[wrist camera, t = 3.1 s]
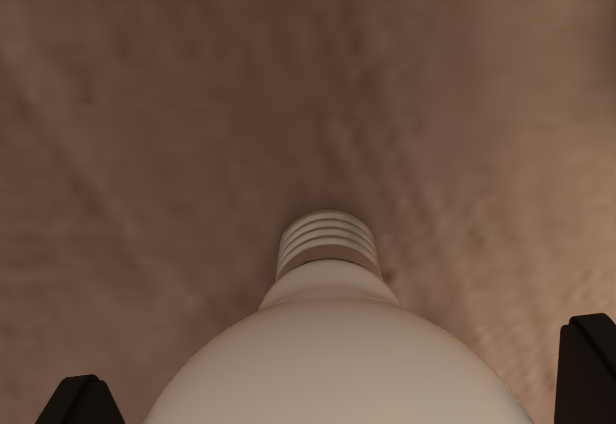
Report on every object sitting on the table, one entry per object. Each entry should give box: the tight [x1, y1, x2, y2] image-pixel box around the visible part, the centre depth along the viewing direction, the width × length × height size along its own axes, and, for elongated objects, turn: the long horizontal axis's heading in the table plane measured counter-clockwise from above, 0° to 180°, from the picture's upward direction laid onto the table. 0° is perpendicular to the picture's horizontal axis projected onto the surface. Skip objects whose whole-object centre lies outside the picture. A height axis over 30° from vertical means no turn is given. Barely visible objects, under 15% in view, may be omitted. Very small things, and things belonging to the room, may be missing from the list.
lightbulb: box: [142, 209, 535, 424], centre depth 9 cm, size 6×6×11 cm
